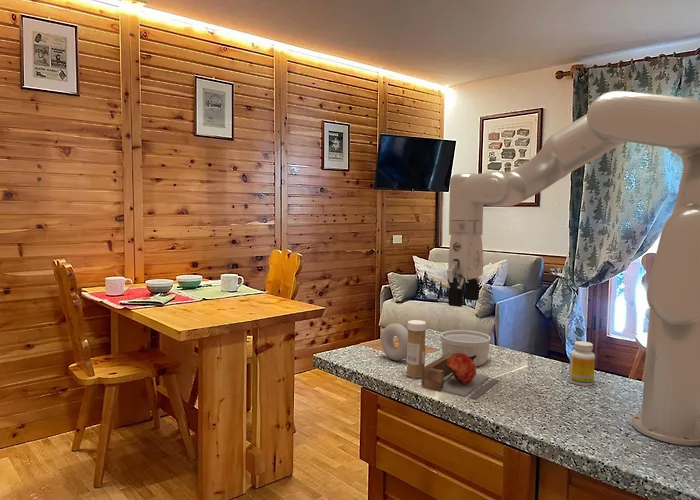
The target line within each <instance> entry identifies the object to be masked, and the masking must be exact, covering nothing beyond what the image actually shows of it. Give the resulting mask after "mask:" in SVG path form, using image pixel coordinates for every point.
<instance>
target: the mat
mask: <svg viewBox="0 0 700 500" xmlns="http://www.w3.org/2000/svg"><path fill="white" fill-rule="evenodd" d="M452 374H453V373H451V374H449V375H447V376H446V377H444V381H445V380H446V379H447V378H449V377H450V376H451V375H452ZM489 378H490V377H489V376H486V375H483V374H477V373H476V375H475V377H474V379H473V380H472V381H471V382H469V383H467V384H462V383H461V382H460V381H458V380H457V379H456V378H455V377H454V376H452V377H451V378H450V379H449V380H447V381H446V382H444V385H443V388H442V389H441V391H440V392H442V393H447V394H452V395H456V396H460V397H464V398H466V397H467V396H468V395H470V393H472V392H473V391H475V390H476V389H477V388H479V386H481V385H482V384H483V383H485V382H486V381H488V380H489Z"/></svg>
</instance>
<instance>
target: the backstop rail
mask: <svg viewBox="0 0 700 500" xmlns="http://www.w3.org/2000/svg"><path fill="white" fill-rule="evenodd" d="M453 354H454V353H448V354H446V355H444V356H443V355H442V356H441V357H439V358H437V359H435V360H434V361H432V362H430V363H428V364H427V365H425V367H423V368H422V378H421V388H424V389H427V390H433V391H436V392H442V391H441V389H442V388H443V385H444V377H446V376H448V375H449V374H451V373H452V372H451V371H450V370H449V369H448V367H447V360H448V359H449V358H450V357H451V355H453Z"/></svg>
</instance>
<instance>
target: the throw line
mask: <svg viewBox="0 0 700 500" xmlns="http://www.w3.org/2000/svg"><path fill="white" fill-rule="evenodd" d="M499 382H500V379H497V378H492V379H490V380H489V381H488V382H486V383H485V384H484V385H483V386H481V387H480V388H479V389H478V390H476V391H475V392H474V393H472V394H471V395H469V399H472V400H478V399H479V398H480V397H482V396H483V395H484V394H485V393H486V392H487V391H489V390H490V389H491V388H492V387H494V386H495V385H496V384H498V383H499Z"/></svg>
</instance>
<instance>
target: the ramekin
mask: <svg viewBox="0 0 700 500" xmlns="http://www.w3.org/2000/svg"><path fill="white" fill-rule="evenodd" d="M440 341H441V352H442V357H443V356H444V355H446V354H448V353H454V354H455V353H463V354H466V355H467V356H468V357H472V356H474V355H476V356H477V357H476V358H474V360H473V362H474V364H475V366H476V367H480V366H483V365H484V364H485V363H486V362H487V360H488V357H489V352H490V346H491V343H492V337H491V336H490V335H489V334H486V333H483V332H480V331H475V330H464V329H461V330H460V329H459V330H458V329H454V330H453V329H452V330H447V331H443V332H442V333H440Z"/></svg>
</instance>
